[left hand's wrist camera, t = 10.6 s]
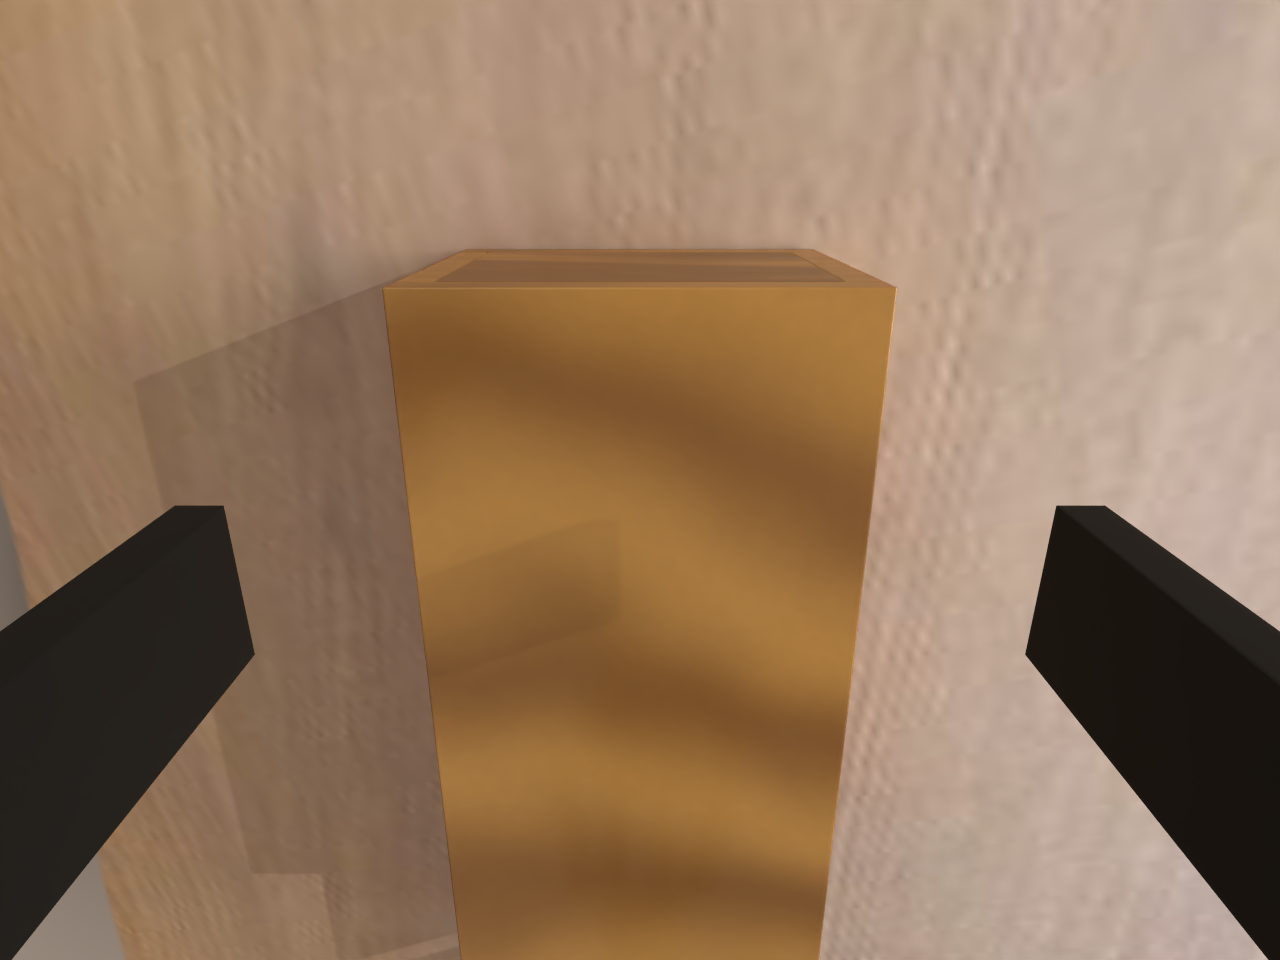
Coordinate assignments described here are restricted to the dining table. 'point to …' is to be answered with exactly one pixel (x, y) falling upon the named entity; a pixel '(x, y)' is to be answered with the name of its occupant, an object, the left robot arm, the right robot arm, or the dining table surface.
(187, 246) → the dining table surface
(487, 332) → the cabinet
